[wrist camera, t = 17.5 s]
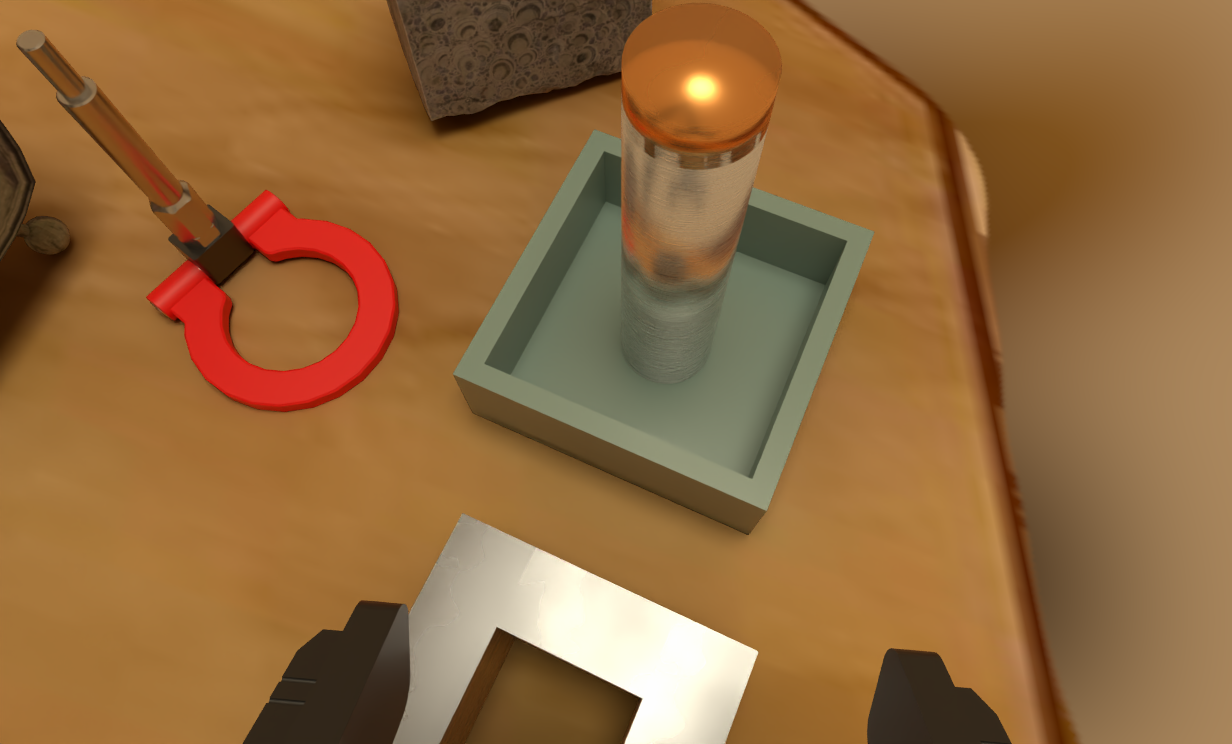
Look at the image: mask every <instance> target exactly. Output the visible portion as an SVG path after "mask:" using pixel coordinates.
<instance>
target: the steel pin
mask: <svg viewBox="0 0 1232 744" xmlns="http://www.w3.org/2000/svg"><path fill="white" fill-rule="evenodd" d="M781 73H782V62H781V56H780V53H779V49H778V47H777V45H776V43H775V41H774V39H773V38H772V37H771V35H770V34H769V33H768V32H767V30H766V29H765V28H764V27H763V26H762V25H760V24H759V23H758V22H757V21H755V20H754V19H752V18H751V17H749V16H748V15H746V14H744V13H742V12H740V11H737V10H735V9H732V8H729V7H725V6H721V5H716V4H708V3H689V4H681V5H677V6H672V7H669V8H666V9H663V10H661V11H659V12H657V13H655V14H653V15H651V16H650V17H648V18H646V19H645V20H644V21H643V22H641V23H640V24H639V25H638V26H637V27H636V28H635V29H634V30H633V32H632V33H631V35H630V36H629V37H628V40H627V42H626V44H625V46H624V49H623V53H622V81H621V347H622V352H623V355H624V358H625V360H626V362H627V363H628V365H629V366H630V367H631V368H632V369H633V371H635V372H636V373H637V374H638V375H640V376H641V377H643V378H645V379H647V380H649V381H652V382H656V383H662V384H673V383H678V382H682V381H685V380H687V379H689V378H691V377H692V376H694V375H695V374H697V373H698V372H699V371H700V370H701V369H702V368H703V366H704V365H705V363H706V361H707V360H708V357H709V354H710V350H711V347H712V343H713V339H714V335H715V331H716V327H717V323H718V319H719V315H720V312H721V308H722V304H723V300H724V296H725V292H726V288H727V284H728V281H729V277H730V273H731V269H732V265H733V261H734V257H735V253H736V249H737V246H738V242H739V238H740V234H741V230H742V226H743V222H744V218H745V214H746V211H747V207H748V203H749V199H750V195H751V191H752V187H753V183H754V179H755V176H756V172H757V168H758V164H759V160H760V156H761V152H762V148H763V145H764V141H765V137H766V133H767V129H768V125H769V121H770V117H771V113H772V110H773V106H774V102H775V98H776V94H777V90H778V86H779V82H780V78H781Z"/></svg>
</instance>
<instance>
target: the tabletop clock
mask: <svg viewBox="0 0 1232 744" xmlns="http://www.w3.org/2000/svg"><path fill="white" fill-rule="evenodd" d="M34 186H35V180H34V177H33V175H32V173H31V171H30V168H29V166H28V164H27V162H26V160H25V157H24V155H23V153H22V151H21V149H20V147H19V146H18V144H17V143H16V141H15V140H14V138H13V137H12V136H11V134H10V133H9V131H8V130H7V128H6V127H5V126H4V124H3V123H2V122H1V120H0V261H1V260H2V258H3V257H4V255H5V254H6V252H7V250H8V249H9V247H10V245H11V244H12V242H13V241H14V239H15V237H16V236H19V237H24V240H25V242H26V244H27V245H28V246H29V247H30V248H31V249H32V250H34V251H36V252H39V253H43V254H58V253H59V252H61V251H63V250H65V249H66V248H67V246H68V244H69V242H70V235H69V230H68V228H67V226H66V225H65V224H64V223H63V222H62V221H60V220H58V219H56V218H53V217H48V216H39V217H35V218H33V219H31V220H29V221H28V222H27V223H26V225H24V224H22V222H23V220H24V218H25V216H26V213H27V210H28V206H29V203H30V199H31V196H32V193H33V189H34Z"/></svg>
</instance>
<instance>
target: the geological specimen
mask: <svg viewBox="0 0 1232 744" xmlns="http://www.w3.org/2000/svg"><path fill="white" fill-rule="evenodd" d="M387 3H388V7H389V10H390V13H391V16H392V19H393V22H394V25H395V28H396V31H397V34H398V37H399V40H400V43H401V46H402V49H403V52H404V55H405V57H406V60H407V62H408V65H409V68H410V71H411V74H412V76H413V79H414V82H415V85H416V87H417V89H418V91H419V93H420V96H421V99H422V102H423V105H424V107H425V110H426V112H427V113H428V115H429V117H430V119H431V121H433V120H436V119H440V118H442V117H445V116H456V115H460V114H473V113H476V112H479V111H482V110H484V109H485V108H487V107H489V106H491V105H494V104H495V103H497V102H498V101H503V100H510V99H512V98H515V97H517V96H523V95H528V94H534V93H542V92H543V93H548V92H550V91H551V90H552V89H563V88H566V87H569V86H576V85H578V84H580V83H581V82H583V81H585V80H587V79H591V78H592V77H594V76H599V75H610V74H614V73H617V72H620V71H622V53H623V49H624V46H625V44H626V42H627V40H628V37H629V36H630V35H631V33H632V32H633V30H634V29H635V28H636V27H637V26H638V25H639V24H640V23H641V22H643V21H644V20H645V19H646V18H648V17H650V16H651V15H652V0H387Z"/></svg>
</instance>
